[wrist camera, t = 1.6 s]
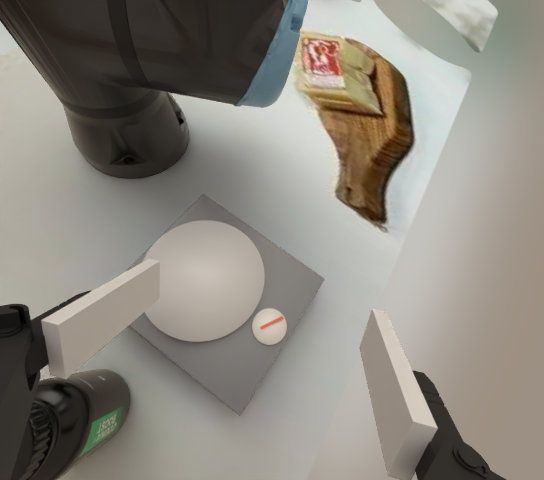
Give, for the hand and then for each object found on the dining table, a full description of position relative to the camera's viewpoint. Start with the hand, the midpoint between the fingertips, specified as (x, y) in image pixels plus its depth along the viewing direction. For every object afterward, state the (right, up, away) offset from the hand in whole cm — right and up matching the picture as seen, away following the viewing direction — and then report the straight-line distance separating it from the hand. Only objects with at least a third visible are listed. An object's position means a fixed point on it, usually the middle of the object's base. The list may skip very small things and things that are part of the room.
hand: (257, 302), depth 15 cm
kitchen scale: (-5, -3, +16) cm, 17 cm away
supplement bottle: (-17, -13, +10) cm, 24 cm away
